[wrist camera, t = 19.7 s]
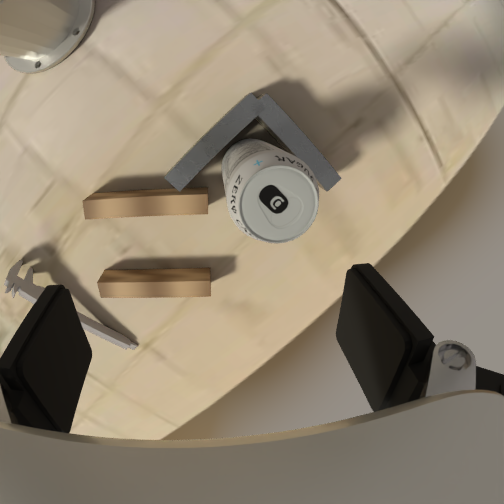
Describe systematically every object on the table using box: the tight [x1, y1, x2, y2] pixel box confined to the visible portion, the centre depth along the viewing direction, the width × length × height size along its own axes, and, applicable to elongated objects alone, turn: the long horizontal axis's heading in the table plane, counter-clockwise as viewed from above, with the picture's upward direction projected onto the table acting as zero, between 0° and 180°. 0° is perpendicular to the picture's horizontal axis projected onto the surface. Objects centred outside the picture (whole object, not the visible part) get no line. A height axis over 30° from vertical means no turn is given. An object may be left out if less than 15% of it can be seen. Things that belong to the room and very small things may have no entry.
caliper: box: [4, 260, 138, 350], centre depth 33 cm, size 20×1×6 cm, turn 46°
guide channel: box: [83, 187, 211, 298], centre depth 32 cm, size 13×12×3 cm
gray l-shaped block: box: [164, 93, 342, 192], centre depth 29 cm, size 9×17×4 cm, turn 88°
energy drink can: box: [222, 139, 319, 243], centre depth 25 cm, size 6×6×15 cm
